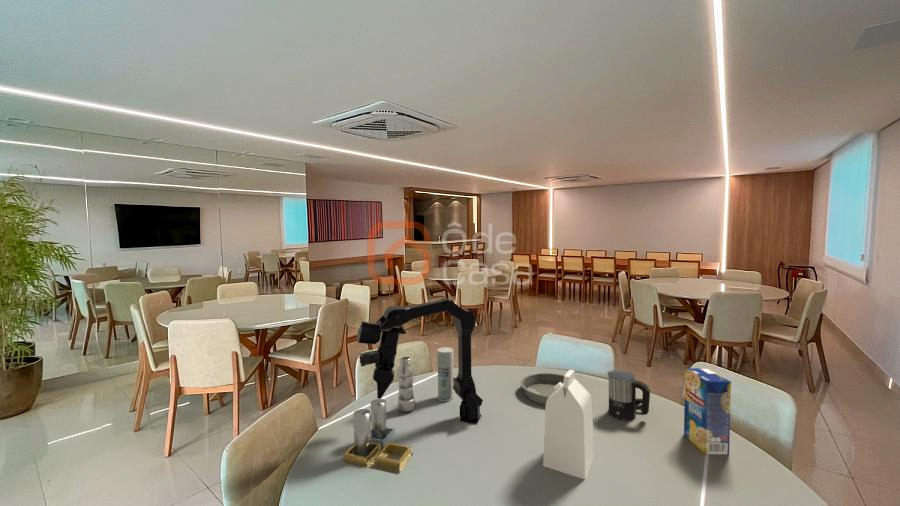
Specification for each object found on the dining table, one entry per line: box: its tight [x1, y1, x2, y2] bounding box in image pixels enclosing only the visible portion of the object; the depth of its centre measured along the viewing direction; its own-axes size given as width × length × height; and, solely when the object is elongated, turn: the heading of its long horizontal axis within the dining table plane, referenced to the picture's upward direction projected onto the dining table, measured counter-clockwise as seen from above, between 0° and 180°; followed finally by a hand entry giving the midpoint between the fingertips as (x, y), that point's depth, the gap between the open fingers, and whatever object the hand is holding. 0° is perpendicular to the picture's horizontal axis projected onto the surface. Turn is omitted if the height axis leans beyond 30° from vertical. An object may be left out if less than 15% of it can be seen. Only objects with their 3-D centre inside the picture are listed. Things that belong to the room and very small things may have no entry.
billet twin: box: [352, 408, 371, 457], centre depth 109 cm, size 5×5×13 cm
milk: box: [542, 369, 595, 480], centre depth 106 cm, size 12×12×26 cm
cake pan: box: [520, 372, 565, 406], centre depth 152 cm, size 25×25×4 cm
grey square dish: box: [370, 426, 396, 448], centre depth 118 cm, size 8×8×3 cm
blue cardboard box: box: [683, 367, 732, 455], centre depth 114 cm, size 7×11×22 cm, turn 177°
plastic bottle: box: [396, 356, 416, 413], centre depth 139 cm, size 6×7×20 cm
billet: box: [370, 398, 388, 440], centre depth 118 cm, size 5×5×13 cm
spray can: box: [436, 346, 455, 402], centre depth 148 cm, size 6×6×20 cm
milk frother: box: [607, 369, 651, 421], centre depth 136 cm, size 14×16×15 cm
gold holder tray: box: [342, 442, 414, 475], centre depth 108 cm, size 18×10×3 cm, turn 71°
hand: (379, 392), depth 120 cm, fingers open, 9 cm apart
